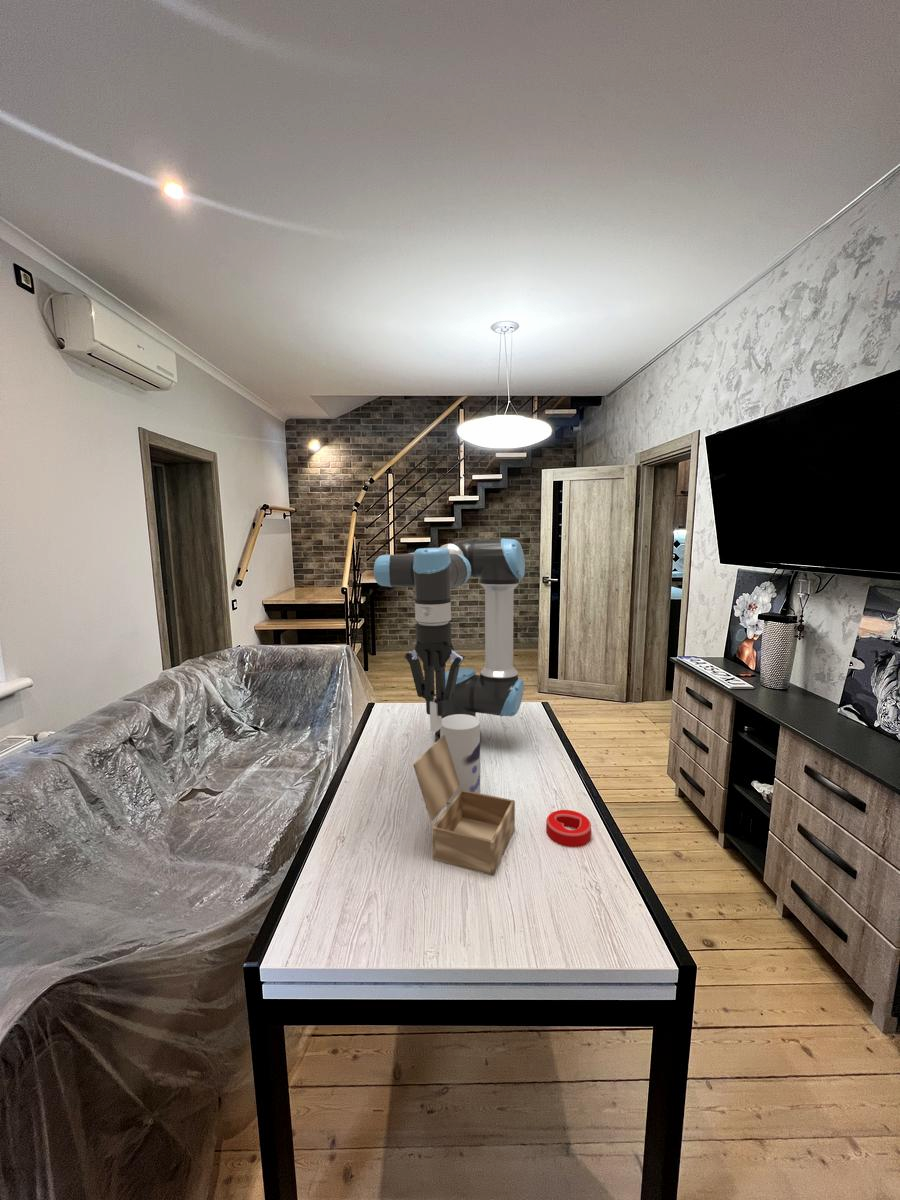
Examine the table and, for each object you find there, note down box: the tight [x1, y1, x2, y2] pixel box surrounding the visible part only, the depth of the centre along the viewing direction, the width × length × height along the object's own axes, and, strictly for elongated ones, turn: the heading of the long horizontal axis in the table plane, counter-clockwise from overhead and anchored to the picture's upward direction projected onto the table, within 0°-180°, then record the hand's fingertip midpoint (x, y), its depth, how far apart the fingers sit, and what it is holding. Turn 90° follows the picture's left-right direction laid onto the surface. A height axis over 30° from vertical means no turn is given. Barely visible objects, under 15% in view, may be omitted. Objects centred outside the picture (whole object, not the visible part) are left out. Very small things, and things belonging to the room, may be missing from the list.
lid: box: [412, 735, 460, 822], centre depth 106 cm, size 15×12×1 cm
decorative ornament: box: [545, 809, 592, 848], centre depth 107 cm, size 10×10×3 cm
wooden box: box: [431, 790, 516, 877], centre depth 104 cm, size 16×13×7 cm
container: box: [440, 714, 481, 805], centre depth 122 cm, size 10×10×20 cm
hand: (436, 728), depth 105 cm, fingers closed
